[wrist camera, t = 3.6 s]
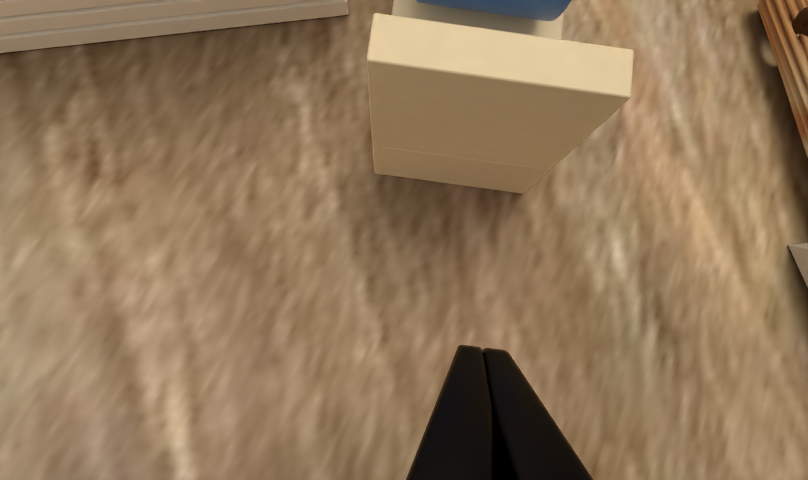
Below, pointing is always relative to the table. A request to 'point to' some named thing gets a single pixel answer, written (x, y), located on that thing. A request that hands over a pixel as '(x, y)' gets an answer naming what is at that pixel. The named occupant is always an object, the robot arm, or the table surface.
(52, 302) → the table surface
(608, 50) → the tape dispenser
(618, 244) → the table surface
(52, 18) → the stack of papers
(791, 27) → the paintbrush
